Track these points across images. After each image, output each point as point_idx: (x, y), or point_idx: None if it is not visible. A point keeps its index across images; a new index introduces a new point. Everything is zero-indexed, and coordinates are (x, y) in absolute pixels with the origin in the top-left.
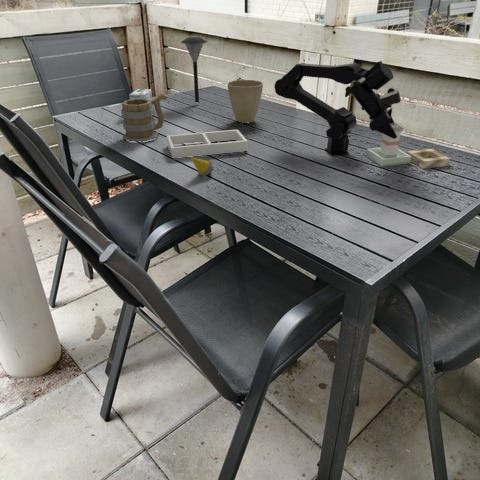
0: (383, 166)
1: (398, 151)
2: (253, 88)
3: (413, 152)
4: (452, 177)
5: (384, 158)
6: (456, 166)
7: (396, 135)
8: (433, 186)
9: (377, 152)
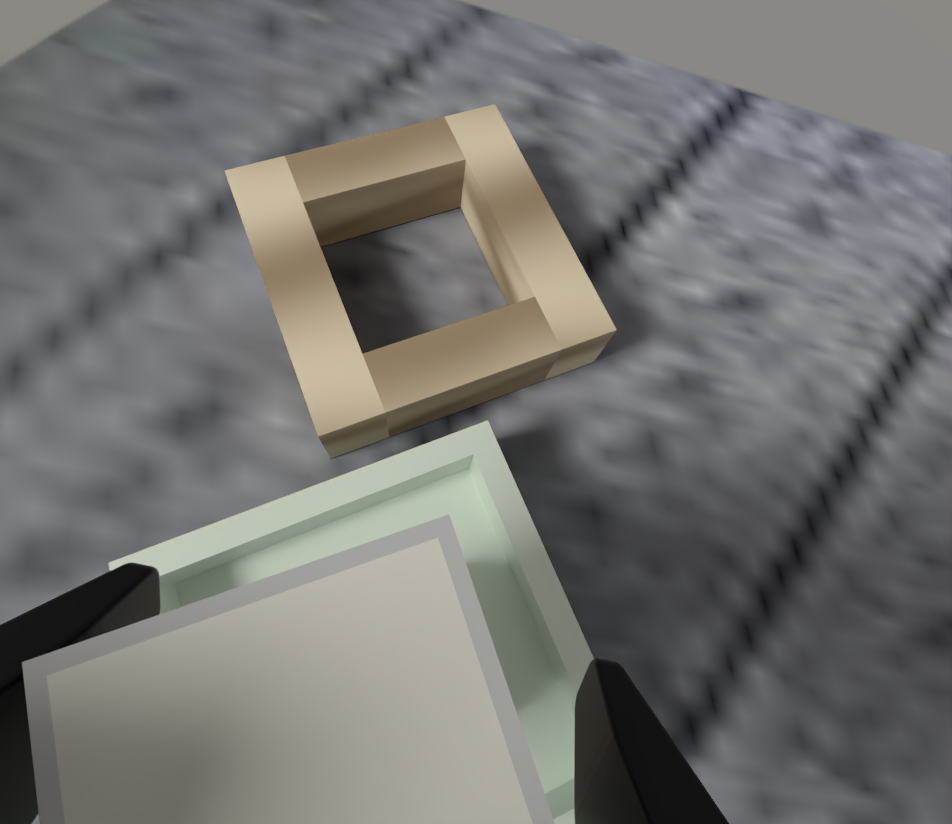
0: None
1: (286, 530)
2: None
3: (355, 371)
4: (725, 199)
5: None
6: None
7: (622, 684)
8: (944, 370)
9: None
